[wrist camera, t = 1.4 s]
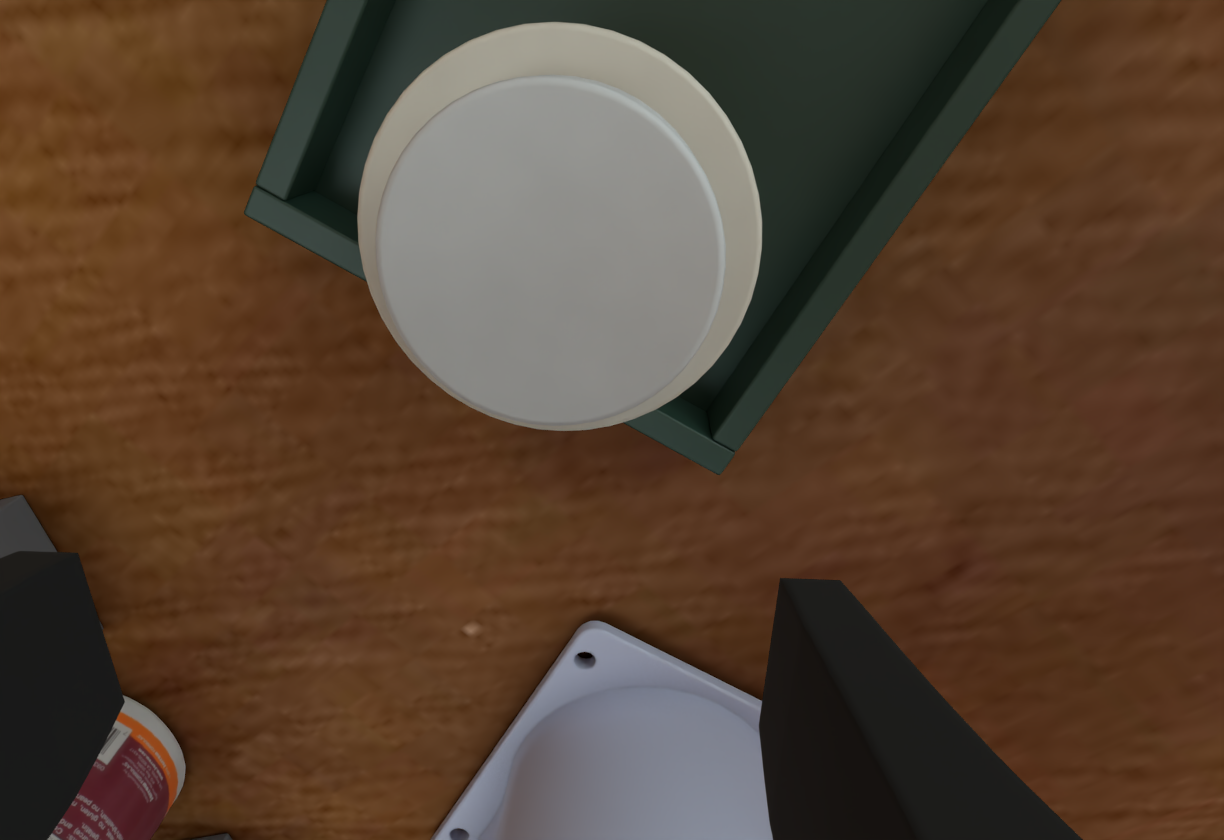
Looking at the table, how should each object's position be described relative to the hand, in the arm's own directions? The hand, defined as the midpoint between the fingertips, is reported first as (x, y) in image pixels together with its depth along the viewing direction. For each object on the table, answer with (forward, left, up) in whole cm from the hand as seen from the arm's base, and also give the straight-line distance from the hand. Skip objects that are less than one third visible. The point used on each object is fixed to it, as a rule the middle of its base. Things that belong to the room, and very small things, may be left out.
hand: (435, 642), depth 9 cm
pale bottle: (+4, +1, -9) cm, 10 cm away
